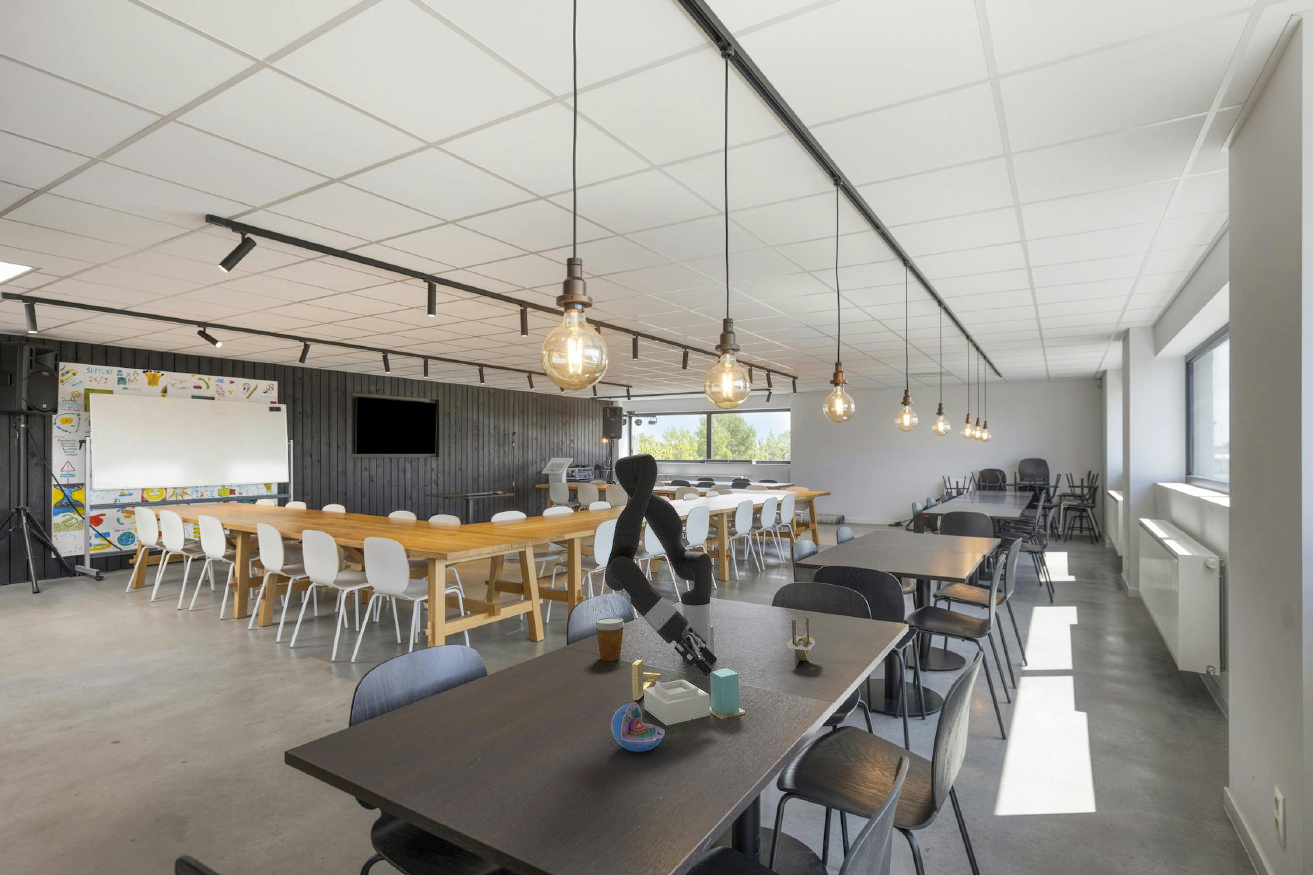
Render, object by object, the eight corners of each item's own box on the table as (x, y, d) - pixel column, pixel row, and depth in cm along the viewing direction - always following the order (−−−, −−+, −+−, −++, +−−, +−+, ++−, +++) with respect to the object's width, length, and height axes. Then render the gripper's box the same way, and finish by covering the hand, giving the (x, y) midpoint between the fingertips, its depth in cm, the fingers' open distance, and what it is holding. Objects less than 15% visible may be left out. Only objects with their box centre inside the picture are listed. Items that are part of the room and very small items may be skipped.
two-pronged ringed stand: (841, 656, 203) (840, 611, 204) (833, 681, 180) (831, 630, 181) (775, 650, 211) (773, 607, 212) (759, 674, 188) (757, 625, 188)
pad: (729, 704, 164) (729, 701, 164) (745, 713, 158) (745, 711, 158) (706, 709, 161) (706, 707, 161) (721, 719, 155) (721, 716, 155)
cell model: (653, 763, 133) (652, 716, 133) (603, 753, 138) (602, 708, 138) (673, 744, 142) (672, 700, 142) (625, 735, 147) (624, 693, 147)
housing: (685, 699, 168) (685, 675, 168) (710, 715, 158) (709, 689, 158) (644, 708, 163) (643, 683, 163) (666, 725, 152) (665, 698, 152)
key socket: (656, 680, 183) (656, 679, 183) (666, 687, 178) (666, 685, 178) (637, 684, 181) (637, 683, 181) (646, 691, 175) (646, 689, 175)
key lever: (644, 681, 181) (644, 648, 182) (661, 682, 180) (660, 649, 180) (626, 699, 168) (625, 663, 168) (644, 701, 166) (643, 665, 167)
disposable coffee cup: (627, 653, 210) (626, 616, 211) (622, 662, 201) (621, 623, 201) (598, 653, 211) (597, 616, 212) (592, 662, 202) (591, 623, 202)
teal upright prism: (728, 704, 163) (727, 667, 163) (739, 710, 158) (738, 673, 159) (711, 707, 161) (710, 671, 161) (721, 714, 156) (720, 677, 157)
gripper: (670, 616, 156) (718, 666, 153) (681, 603, 170) (726, 648, 167) (649, 638, 157) (697, 687, 154) (662, 622, 171) (706, 668, 168)
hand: (712, 667), depth 160 cm, fingers open, 8 cm apart
